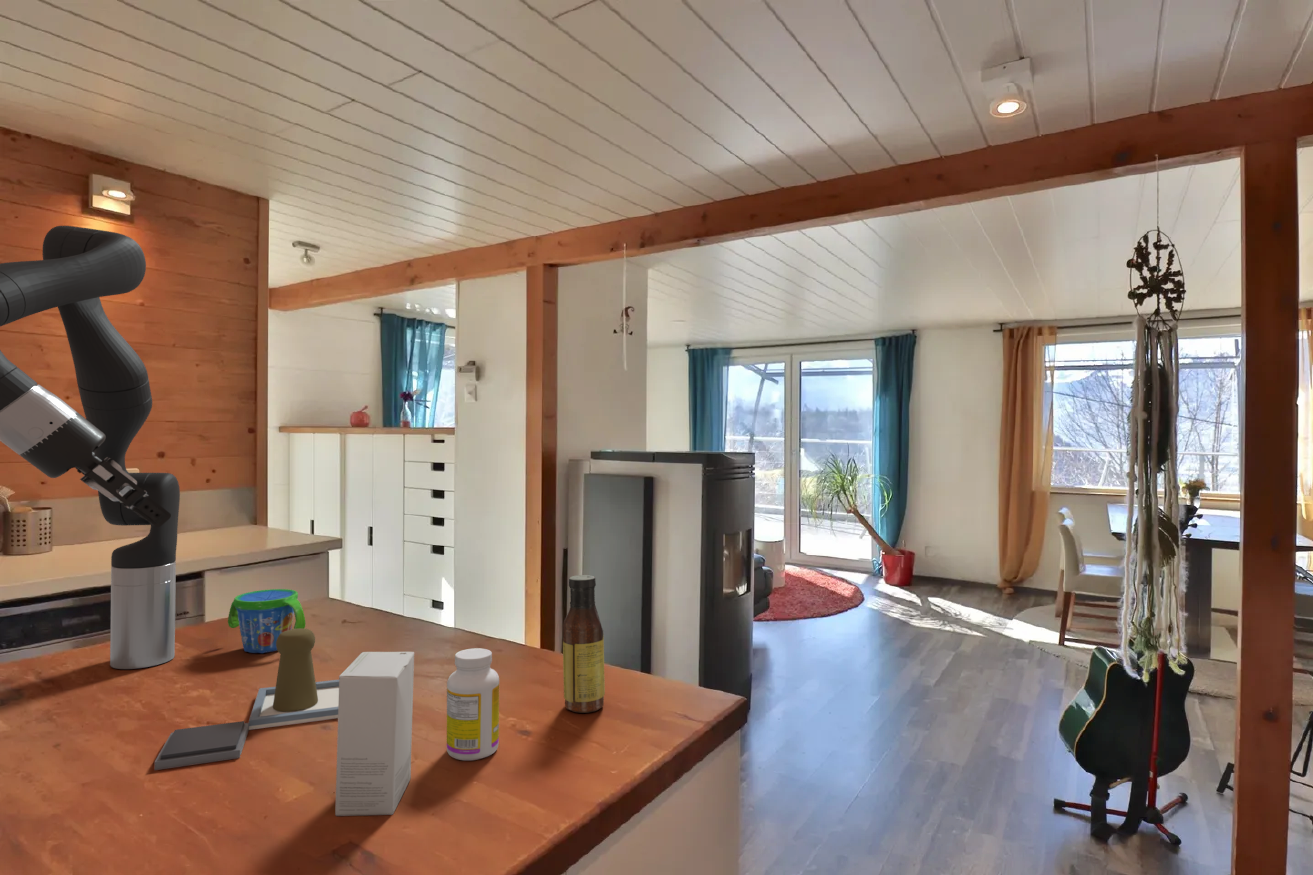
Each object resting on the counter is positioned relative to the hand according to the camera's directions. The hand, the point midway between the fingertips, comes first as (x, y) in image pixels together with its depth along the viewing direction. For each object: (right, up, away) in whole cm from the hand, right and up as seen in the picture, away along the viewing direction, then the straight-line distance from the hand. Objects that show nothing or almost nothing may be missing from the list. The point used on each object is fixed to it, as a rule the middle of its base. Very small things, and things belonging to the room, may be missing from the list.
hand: (159, 518), depth 94 cm
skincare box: (+34, -31, -13) cm, 48 cm away
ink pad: (+7, -30, -2) cm, 31 cm away
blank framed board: (+13, -30, +12) cm, 35 cm away
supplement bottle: (+42, -31, -1) cm, 52 cm away
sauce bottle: (+55, -31, +14) cm, 64 cm away
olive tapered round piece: (+12, -29, +12) cm, 34 cm away
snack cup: (-7, -29, +39) cm, 50 cm away
